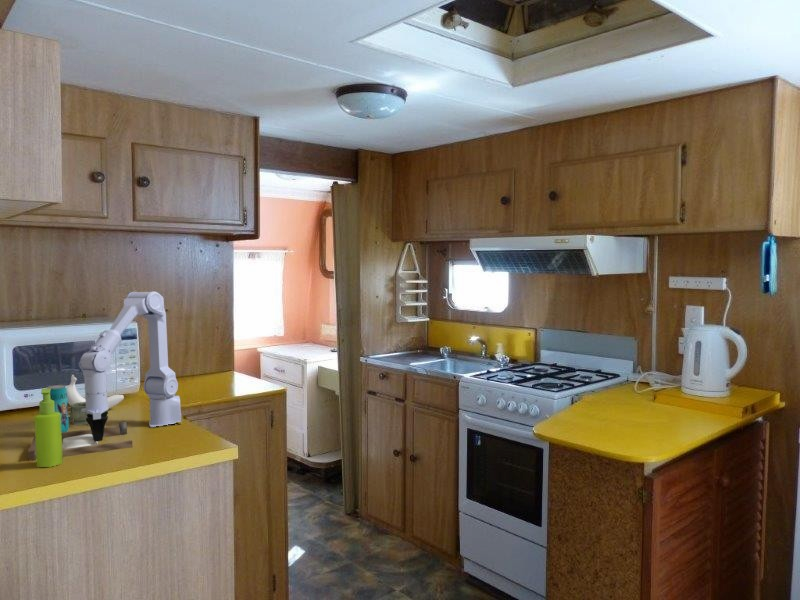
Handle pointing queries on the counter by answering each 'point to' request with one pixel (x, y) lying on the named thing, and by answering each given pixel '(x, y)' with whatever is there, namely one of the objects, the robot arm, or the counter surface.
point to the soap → (78, 441)
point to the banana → (76, 398)
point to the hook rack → (89, 449)
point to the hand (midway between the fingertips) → (98, 439)
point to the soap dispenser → (48, 433)
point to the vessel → (78, 413)
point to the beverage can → (60, 404)
